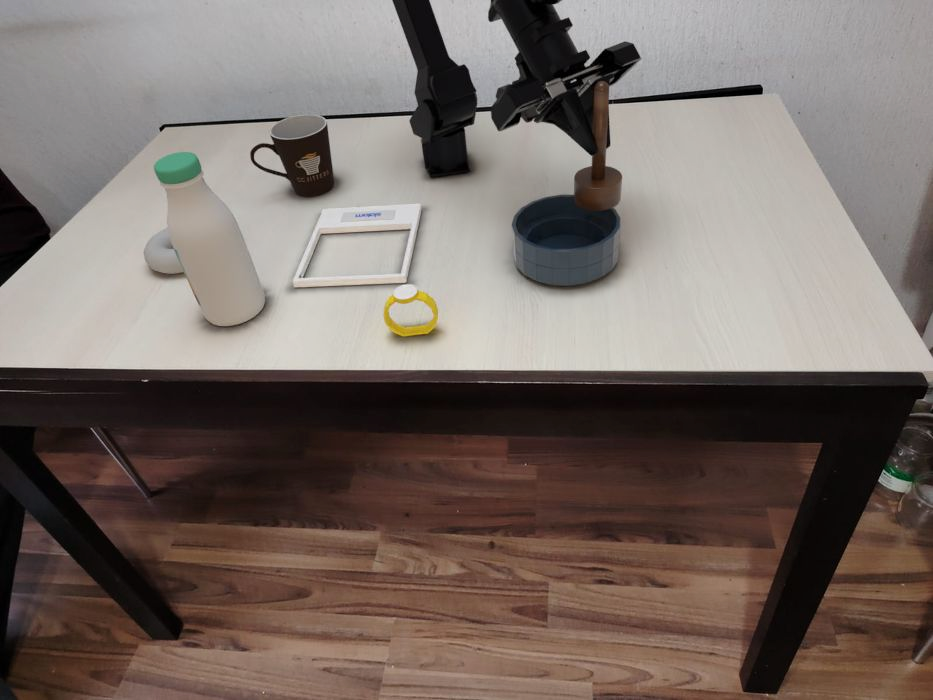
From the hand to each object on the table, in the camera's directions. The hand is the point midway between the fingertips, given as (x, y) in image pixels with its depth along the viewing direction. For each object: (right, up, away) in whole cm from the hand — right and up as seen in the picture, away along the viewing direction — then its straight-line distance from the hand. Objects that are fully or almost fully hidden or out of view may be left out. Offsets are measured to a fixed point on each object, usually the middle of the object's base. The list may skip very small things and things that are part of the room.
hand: (601, 151), depth 77 cm
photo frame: (-30, -9, +15) cm, 34 cm away
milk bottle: (-44, -18, +7) cm, 48 cm away
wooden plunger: (0, -5, +4) cm, 6 cm away
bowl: (-3, -11, +8) cm, 14 cm away
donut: (-55, -10, +17) cm, 58 cm away
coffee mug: (-41, +3, +30) cm, 51 cm away
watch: (-21, -21, 0) cm, 30 cm away
